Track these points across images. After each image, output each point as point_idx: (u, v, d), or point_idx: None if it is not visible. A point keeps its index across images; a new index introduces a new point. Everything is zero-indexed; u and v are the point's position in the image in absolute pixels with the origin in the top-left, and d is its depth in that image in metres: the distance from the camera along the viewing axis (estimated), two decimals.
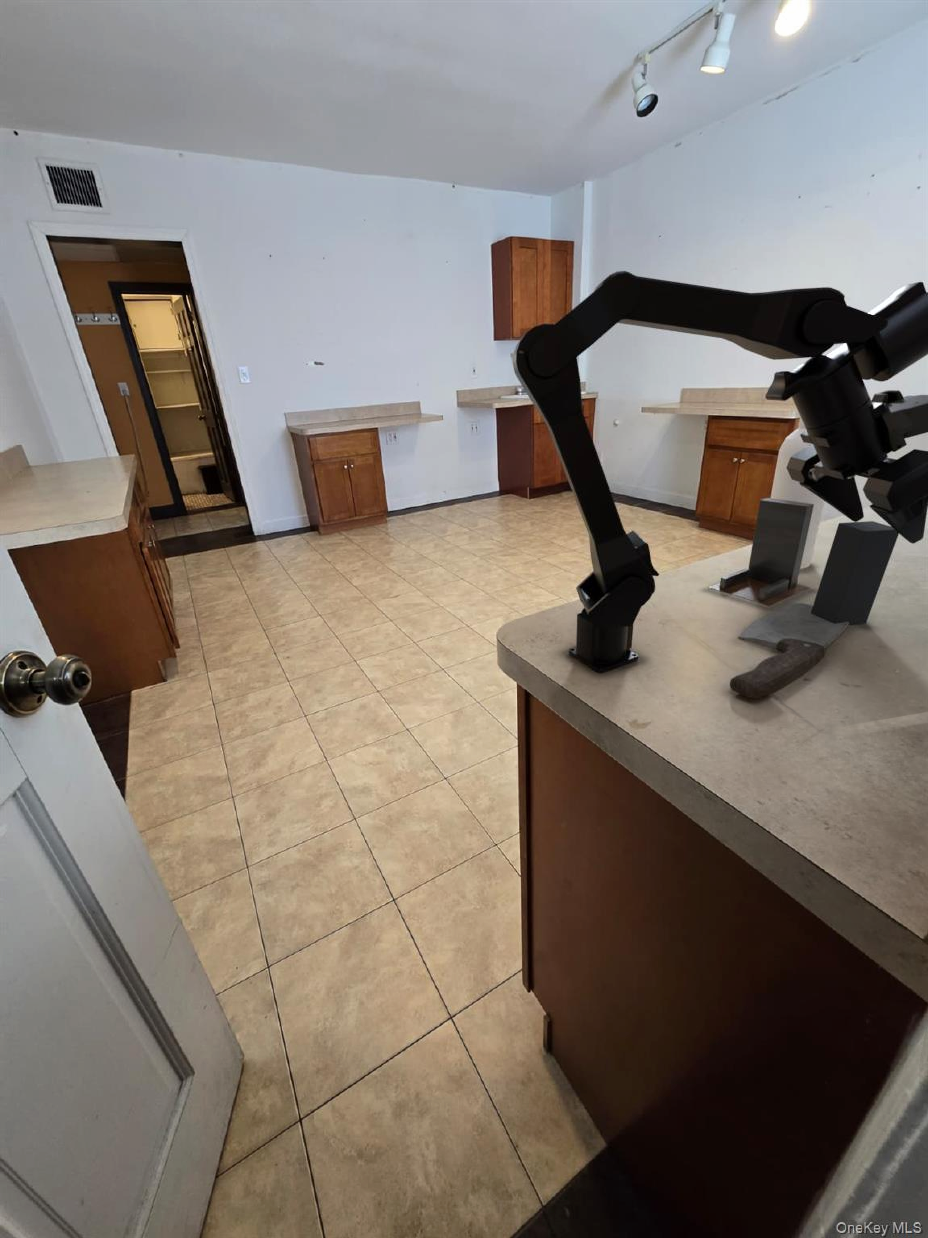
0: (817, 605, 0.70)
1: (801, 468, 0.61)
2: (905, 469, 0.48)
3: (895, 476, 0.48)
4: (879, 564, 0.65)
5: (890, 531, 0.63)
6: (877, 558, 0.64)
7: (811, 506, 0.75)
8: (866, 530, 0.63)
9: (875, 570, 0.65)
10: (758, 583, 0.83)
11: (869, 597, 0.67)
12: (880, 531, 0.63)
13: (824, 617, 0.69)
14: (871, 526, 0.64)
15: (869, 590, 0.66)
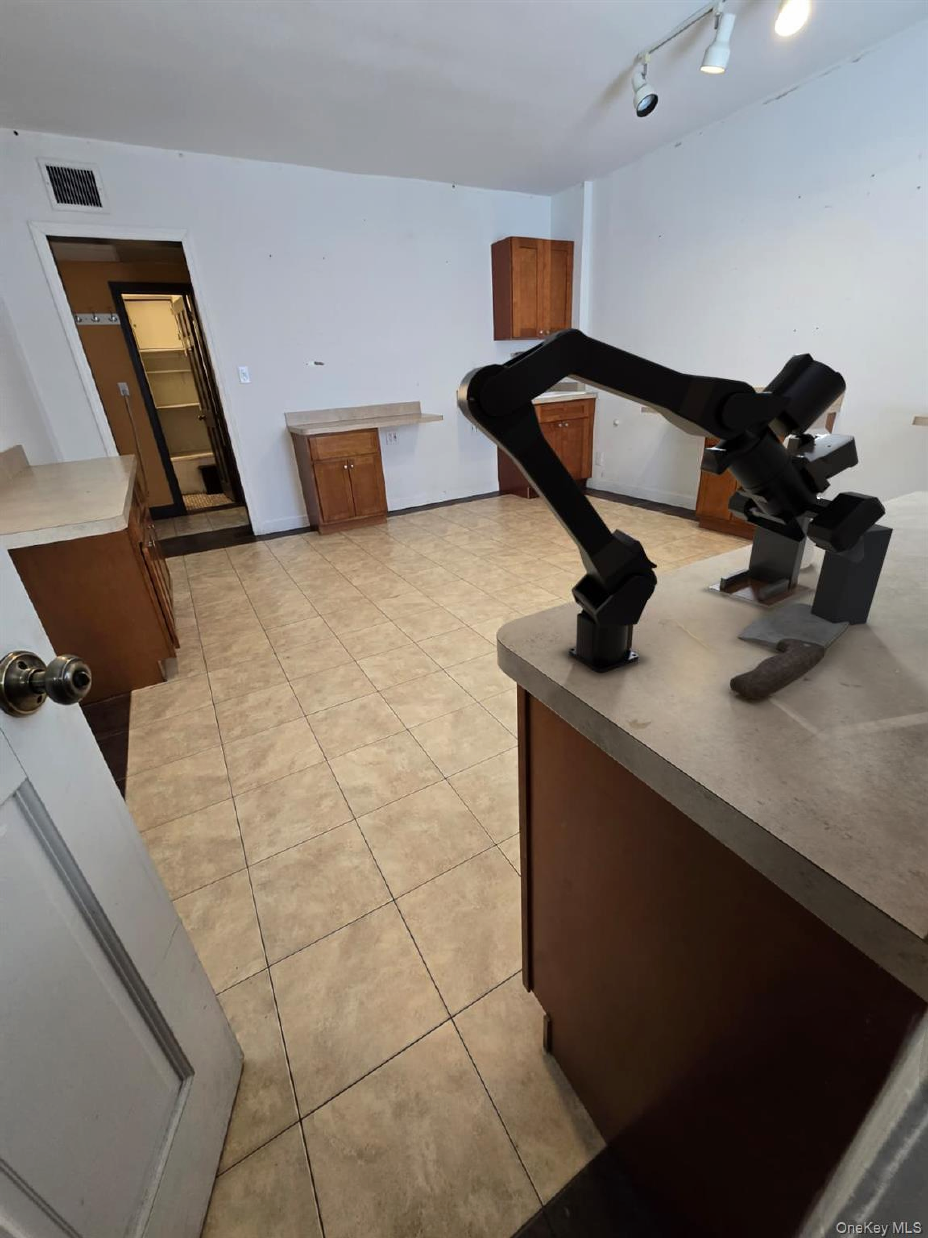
0: (815, 607, 0.70)
1: (742, 510, 0.67)
2: (838, 516, 0.54)
3: (832, 524, 0.54)
4: (874, 564, 0.65)
5: (883, 531, 0.63)
6: (872, 558, 0.64)
7: None
8: None
9: (871, 570, 0.65)
10: (758, 583, 0.83)
11: (867, 597, 0.67)
12: (872, 532, 0.63)
13: None
14: None
15: (866, 590, 0.66)
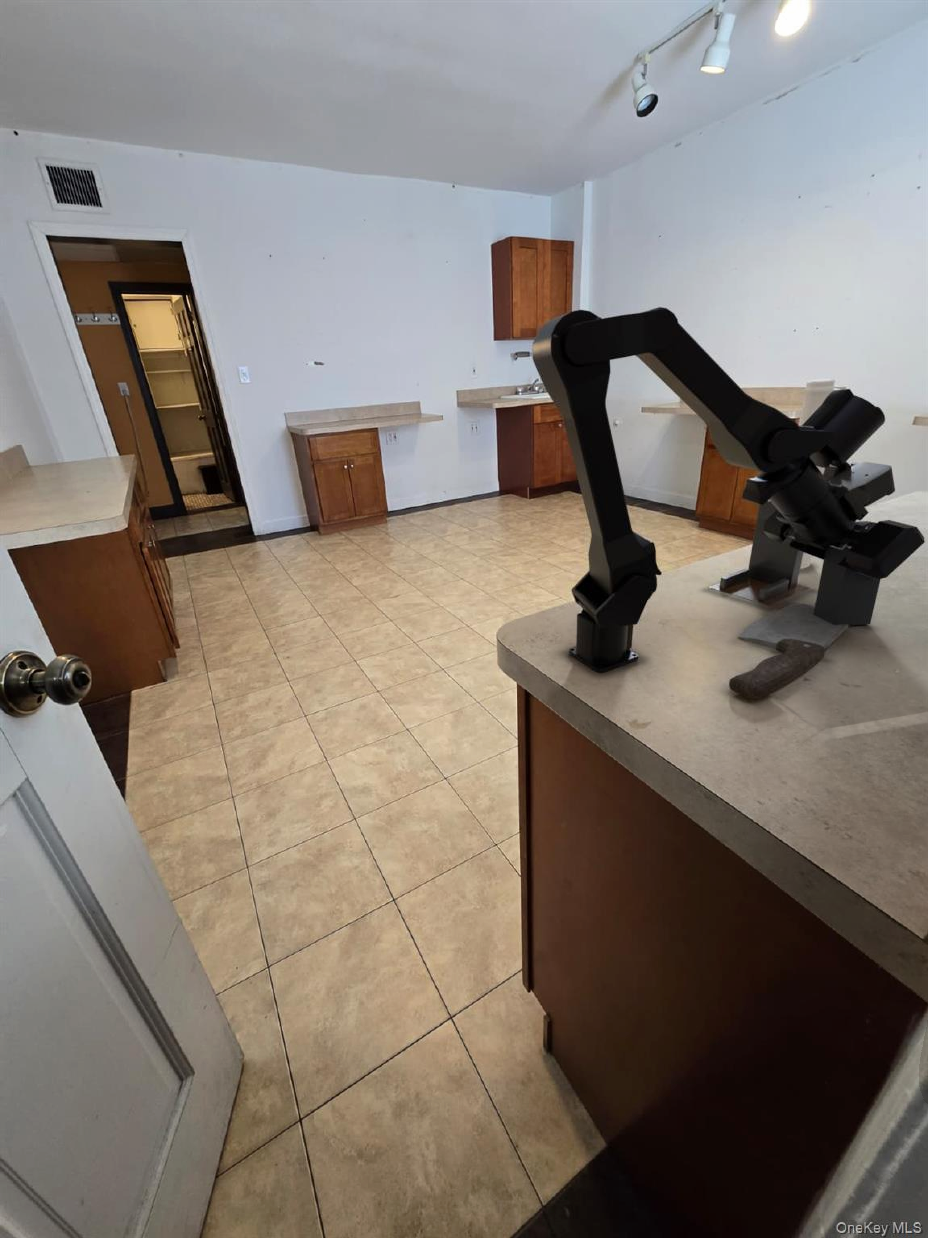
0: (818, 606, 0.70)
1: (778, 534, 0.70)
2: (879, 544, 0.57)
3: (873, 552, 0.57)
4: None
5: None
6: None
7: None
8: None
9: None
10: (758, 583, 0.83)
11: (870, 596, 0.66)
12: None
13: (825, 618, 0.69)
14: (863, 524, 0.65)
15: (868, 588, 0.66)
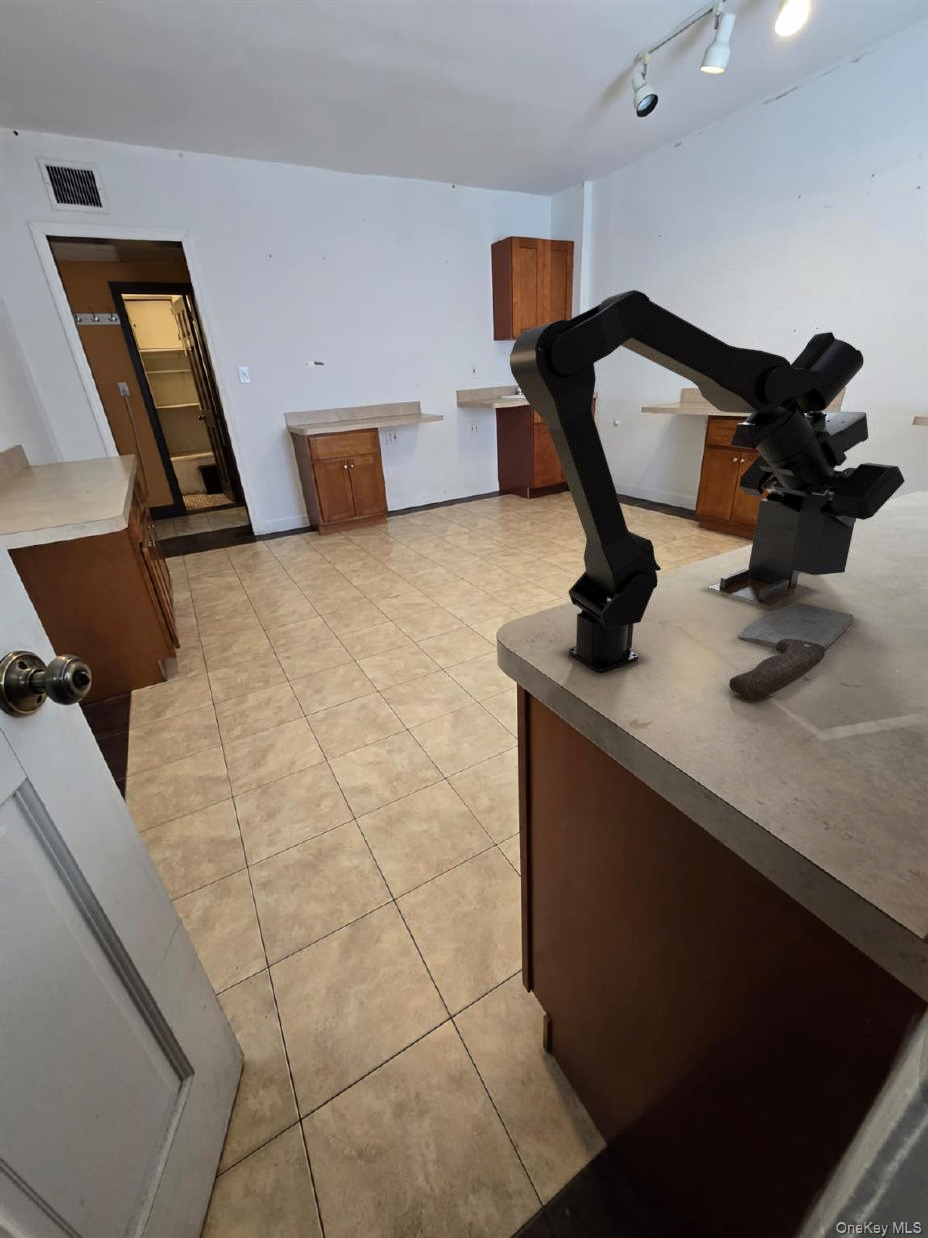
0: (795, 558, 0.71)
1: (756, 487, 0.70)
2: (864, 485, 0.58)
3: (859, 492, 0.58)
4: None
5: None
6: None
7: None
8: None
9: None
10: (758, 583, 0.83)
11: (844, 544, 0.68)
12: None
13: (804, 568, 0.70)
14: None
15: (843, 536, 0.68)
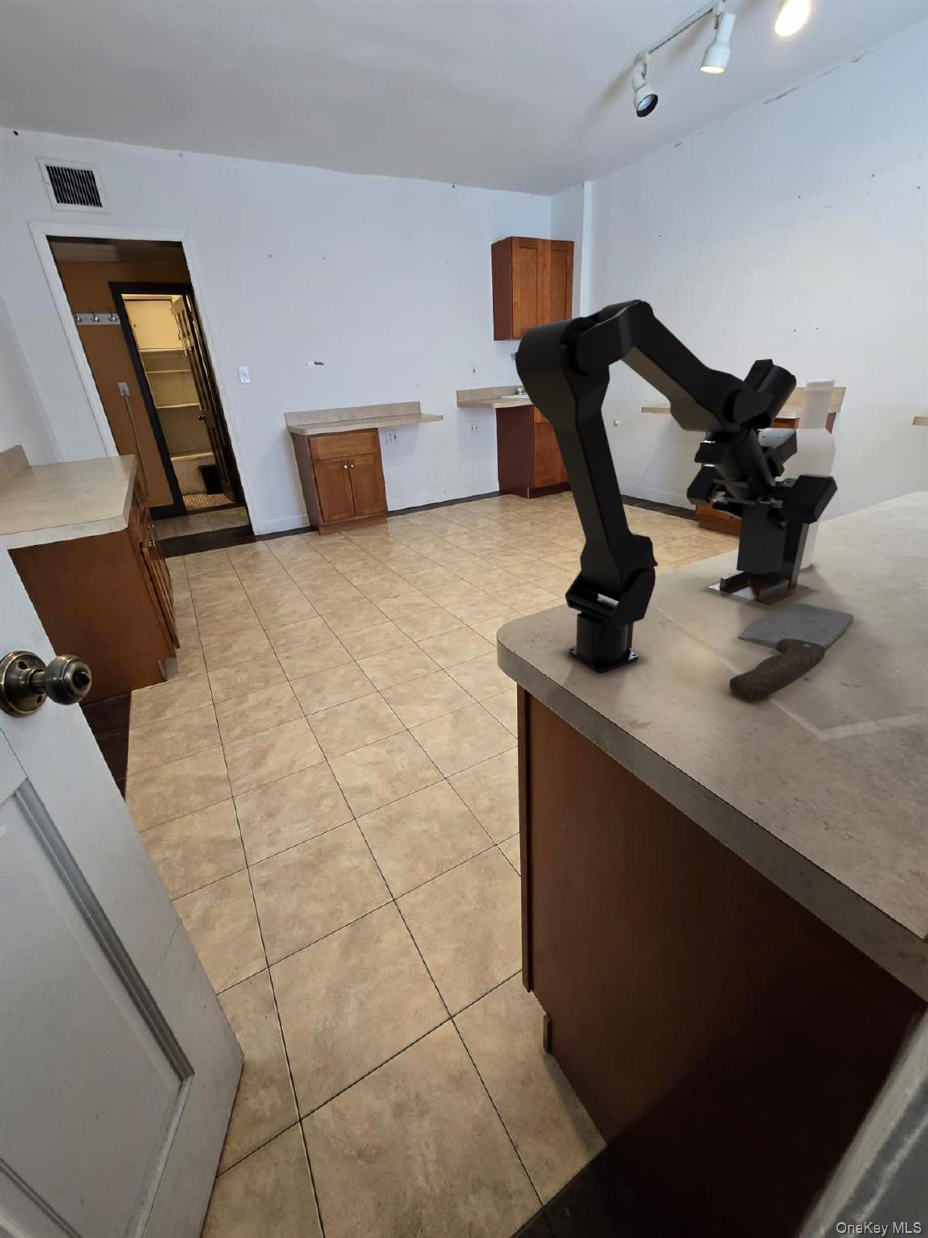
0: (741, 560, 0.78)
1: (704, 497, 0.76)
2: (808, 493, 0.65)
3: (806, 500, 0.65)
4: None
5: None
6: None
7: None
8: None
9: None
10: (758, 583, 0.83)
11: (781, 545, 0.77)
12: None
13: (750, 568, 0.77)
14: None
15: (780, 538, 0.76)
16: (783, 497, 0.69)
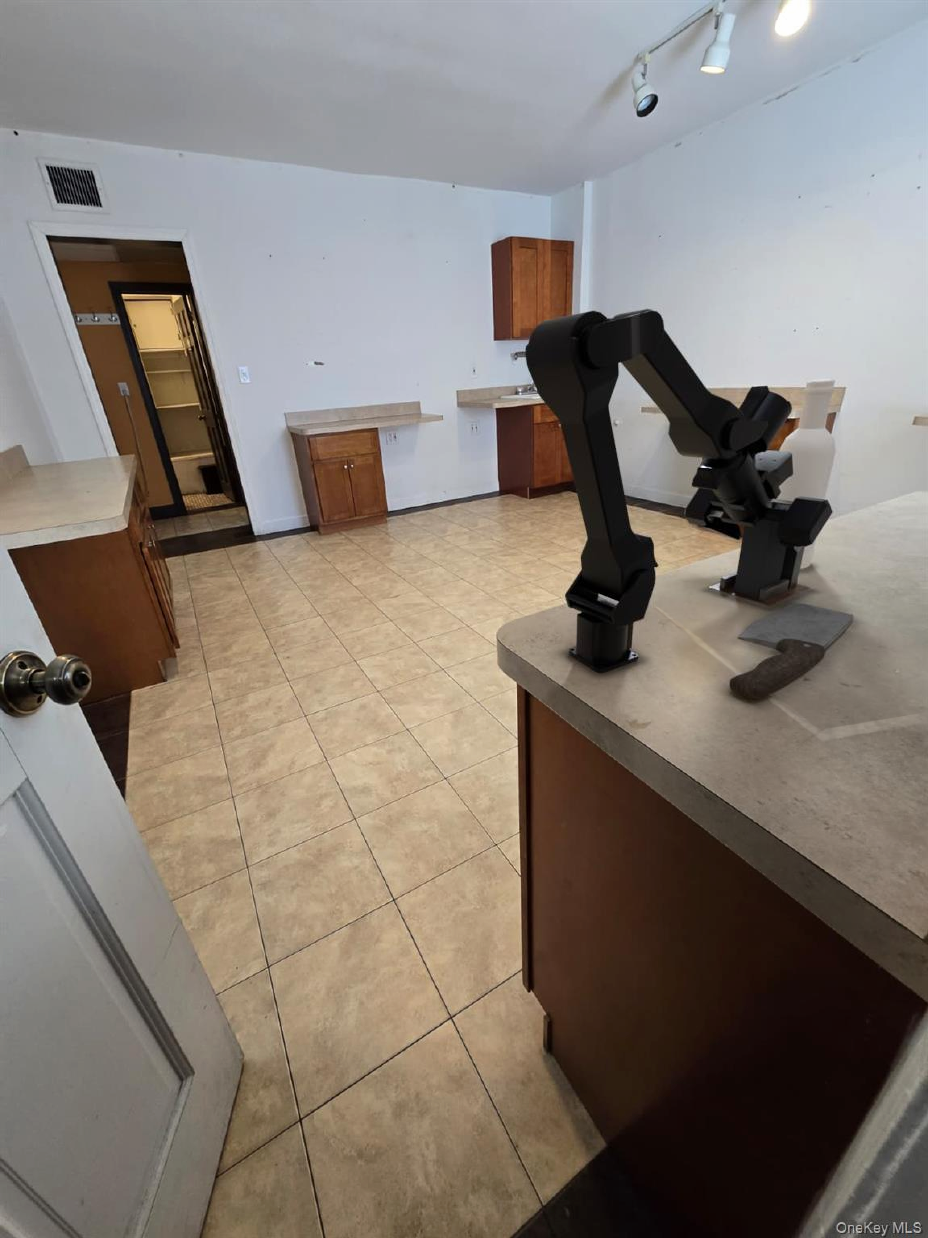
0: (739, 582, 0.80)
1: (702, 518, 0.77)
2: (804, 517, 0.66)
3: (801, 524, 0.66)
4: None
5: None
6: None
7: None
8: None
9: (781, 545, 0.76)
10: None
11: (778, 568, 0.78)
12: None
13: (748, 592, 0.79)
14: None
15: (778, 562, 0.77)
16: None
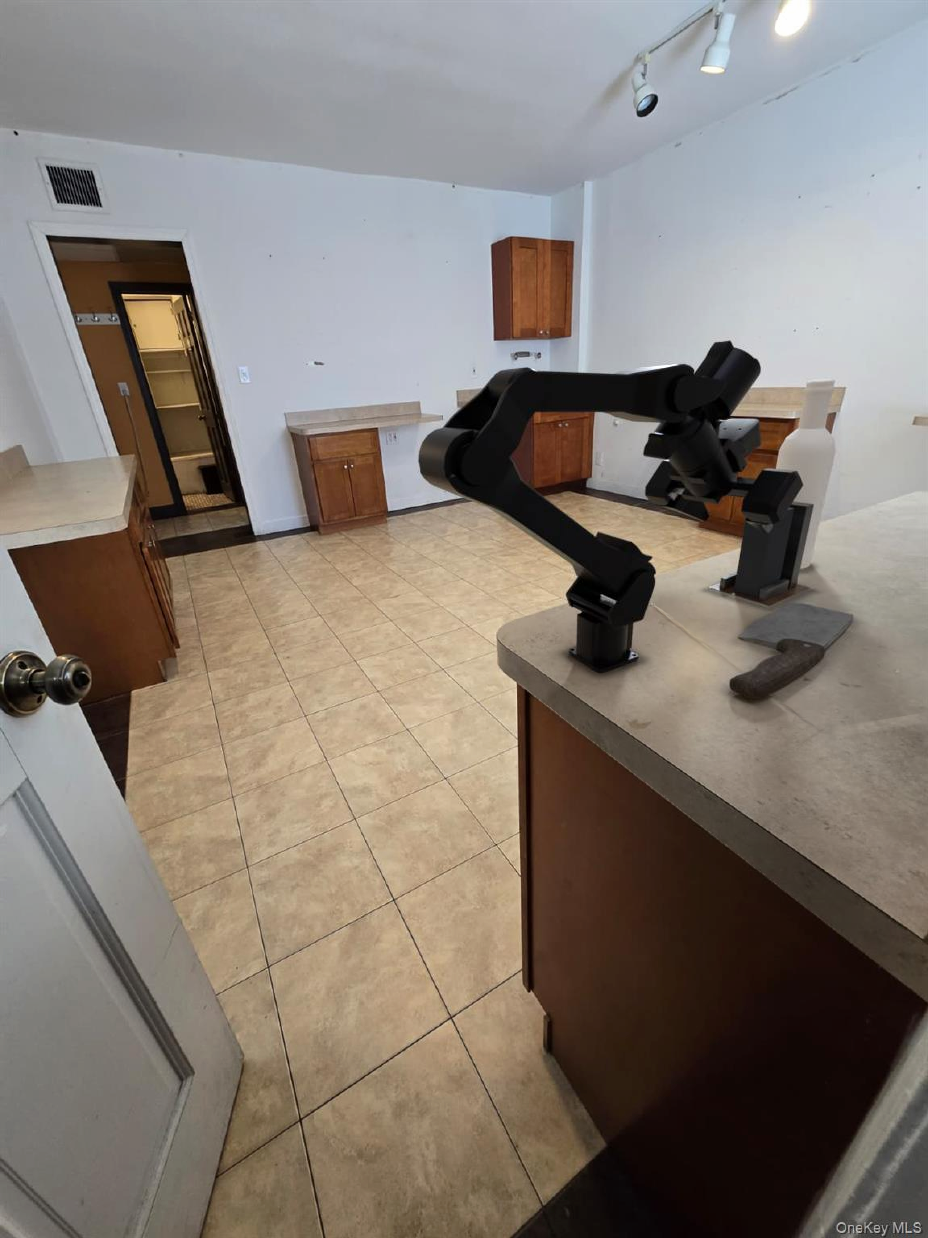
0: (739, 582, 0.80)
1: (663, 495, 0.70)
2: (770, 490, 0.59)
3: (767, 498, 0.59)
4: (783, 539, 0.76)
5: (788, 511, 0.74)
6: (781, 535, 0.75)
7: (811, 506, 0.75)
8: None
9: (781, 545, 0.76)
10: None
11: (778, 568, 0.78)
12: None
13: (748, 592, 0.79)
14: None
15: (778, 562, 0.77)
16: None
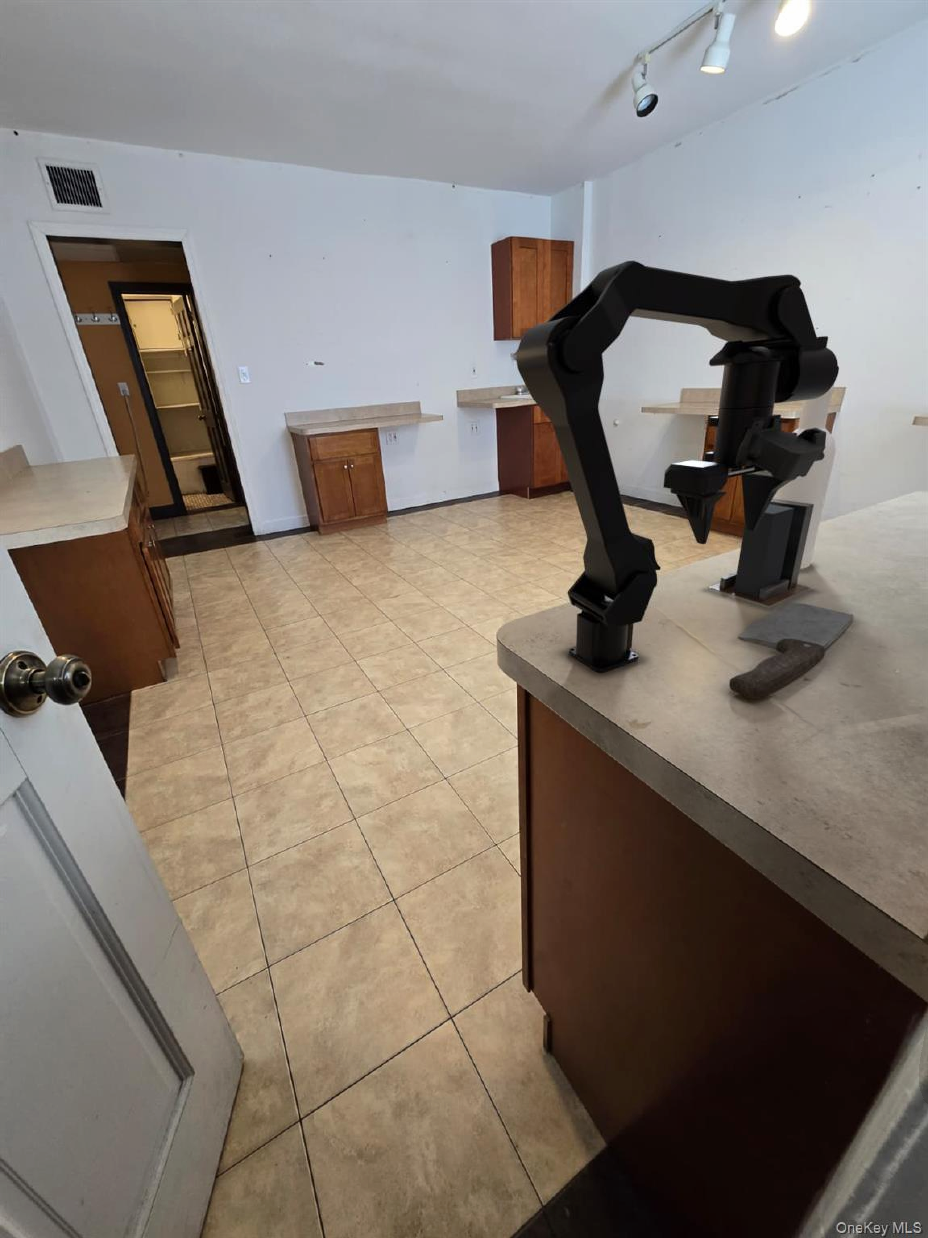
0: (739, 582, 0.80)
1: None
2: (688, 464, 0.59)
3: (680, 463, 0.60)
4: (783, 539, 0.76)
5: (788, 511, 0.74)
6: (781, 535, 0.75)
7: (811, 506, 0.75)
8: (773, 513, 0.73)
9: (781, 545, 0.76)
10: None
11: (778, 568, 0.78)
12: (782, 512, 0.73)
13: (748, 592, 0.79)
14: (772, 508, 0.75)
15: (778, 562, 0.77)
16: None
